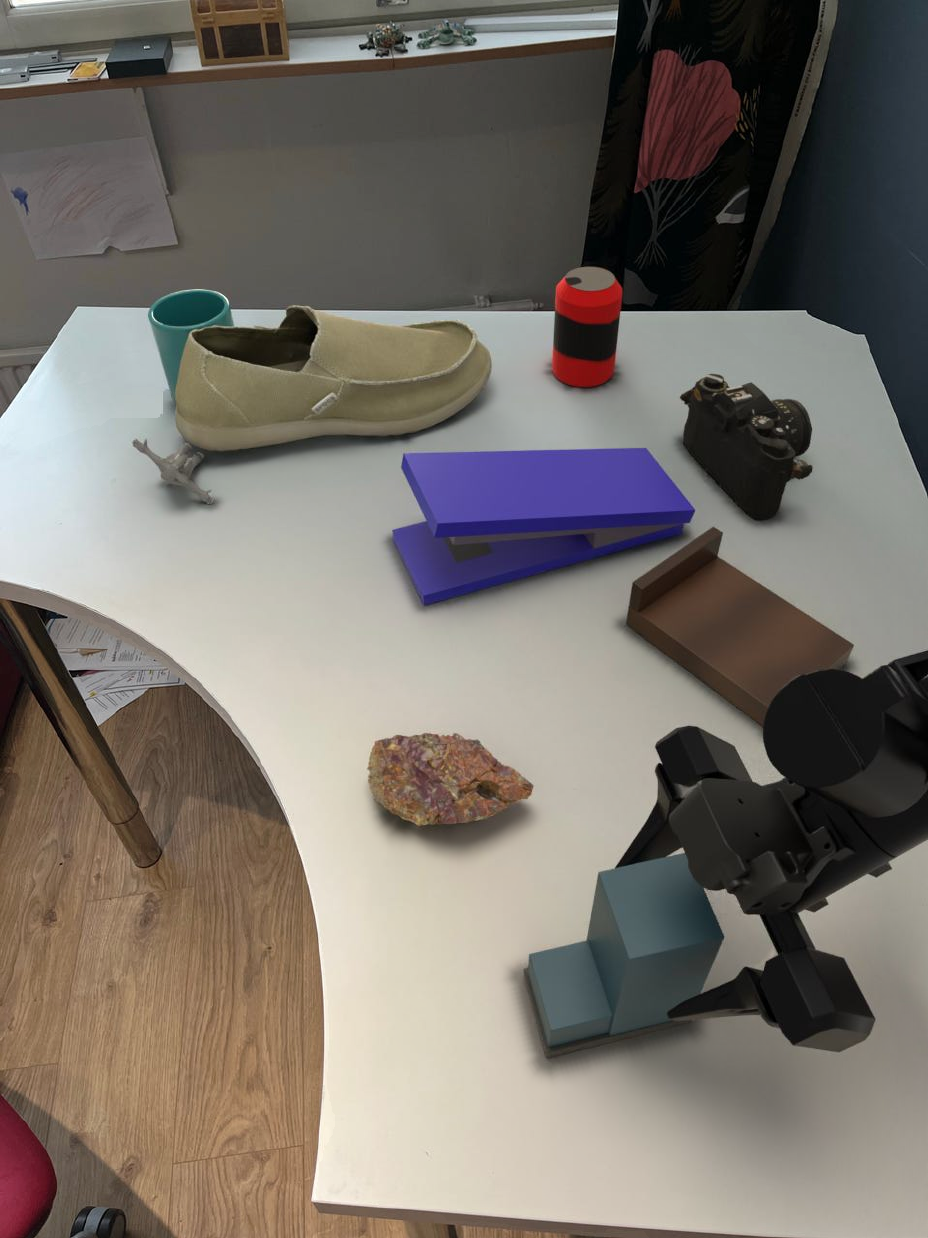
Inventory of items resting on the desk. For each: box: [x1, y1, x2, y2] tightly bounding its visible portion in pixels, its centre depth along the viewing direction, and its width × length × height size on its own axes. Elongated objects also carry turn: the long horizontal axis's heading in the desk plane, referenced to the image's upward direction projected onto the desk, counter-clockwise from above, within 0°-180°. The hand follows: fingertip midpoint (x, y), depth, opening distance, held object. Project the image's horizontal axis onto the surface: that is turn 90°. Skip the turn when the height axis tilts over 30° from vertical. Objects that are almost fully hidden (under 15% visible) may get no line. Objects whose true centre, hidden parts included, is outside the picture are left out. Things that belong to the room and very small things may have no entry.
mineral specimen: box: [366, 732, 534, 827], centre depth 71 cm, size 12×8×7 cm
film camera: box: [679, 373, 813, 521], centre depth 96 cm, size 18×12×10 cm
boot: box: [522, 852, 725, 1059], centre depth 57 cm, size 10×6×13 cm, turn 103°
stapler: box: [391, 447, 696, 606], centre depth 90 cm, size 12×28×10 cm, turn 110°
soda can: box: [551, 266, 623, 388], centre depth 109 cm, size 8×8×12 cm
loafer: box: [174, 305, 493, 452], centre depth 103 cm, size 14×37×13 cm, turn 112°
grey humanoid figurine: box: [131, 438, 215, 505], centre depth 98 cm, size 10×6×9 cm
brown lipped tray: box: [625, 526, 855, 727], centre depth 81 cm, size 16×11×6 cm
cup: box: [147, 288, 235, 405], centre depth 109 cm, size 9×12×11 cm
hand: (643, 942), depth 56 cm, fingers open, 9 cm apart
